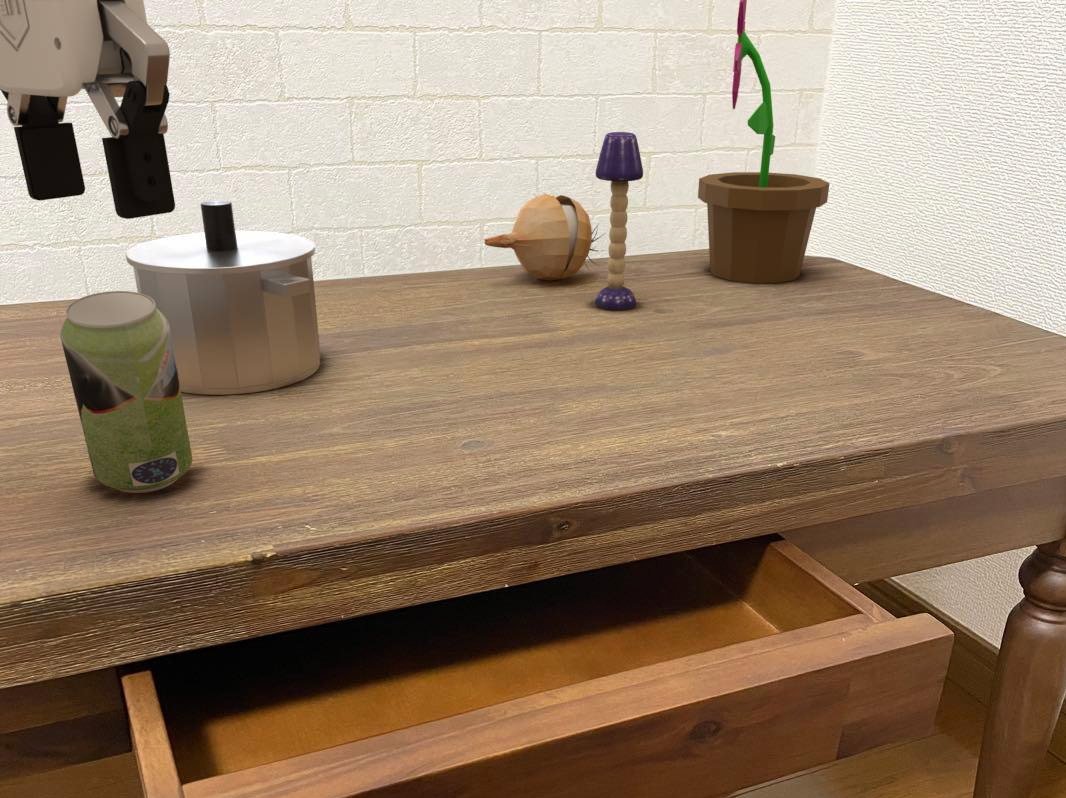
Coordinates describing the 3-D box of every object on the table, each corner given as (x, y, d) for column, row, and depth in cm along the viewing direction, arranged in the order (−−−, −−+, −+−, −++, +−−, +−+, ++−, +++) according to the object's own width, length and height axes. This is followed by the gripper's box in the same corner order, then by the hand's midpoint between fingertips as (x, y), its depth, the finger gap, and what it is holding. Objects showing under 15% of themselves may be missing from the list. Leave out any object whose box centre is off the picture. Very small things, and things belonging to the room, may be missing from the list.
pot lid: (195, 292, 75) (186, 227, 73) (92, 263, 83) (81, 203, 81) (353, 260, 84) (348, 201, 82) (246, 237, 93) (240, 183, 91)
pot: (235, 415, 78) (218, 288, 73) (105, 364, 89) (83, 250, 84) (373, 373, 87) (365, 257, 83) (240, 331, 98) (227, 227, 94)
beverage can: (187, 456, 71) (158, 278, 65) (205, 497, 65) (176, 305, 59) (88, 471, 68) (49, 288, 63) (98, 515, 62) (56, 317, 57)
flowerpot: (696, 257, 128) (716, -19, 115) (815, 263, 126) (850, -18, 112) (688, 283, 116) (709, -22, 102) (820, 290, 113) (860, -22, 100)
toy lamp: (642, 310, 105) (651, 135, 98) (598, 313, 105) (603, 136, 97) (629, 299, 110) (636, 130, 102) (586, 301, 109) (590, 130, 101)
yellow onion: (631, 204, 114) (512, 177, 107) (617, 290, 116) (499, 270, 108) (586, 206, 122) (472, 181, 114) (574, 286, 124) (461, 267, 116)
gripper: (-121, -147, 53) (-34, 199, 61) (38, -188, 43) (118, 234, 51) (23, -135, 58) (87, 184, 66) (196, -168, 48) (247, 212, 56)
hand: (100, 205), depth 59 cm, fingers open, 9 cm apart
